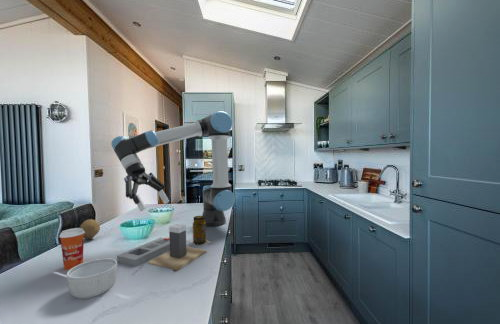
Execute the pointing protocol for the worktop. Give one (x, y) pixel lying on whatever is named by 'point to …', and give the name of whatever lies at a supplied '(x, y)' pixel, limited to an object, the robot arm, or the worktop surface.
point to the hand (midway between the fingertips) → (155, 206)
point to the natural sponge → (90, 228)
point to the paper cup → (72, 247)
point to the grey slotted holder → (144, 252)
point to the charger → (177, 241)
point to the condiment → (199, 231)
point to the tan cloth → (177, 259)
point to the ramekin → (92, 277)
